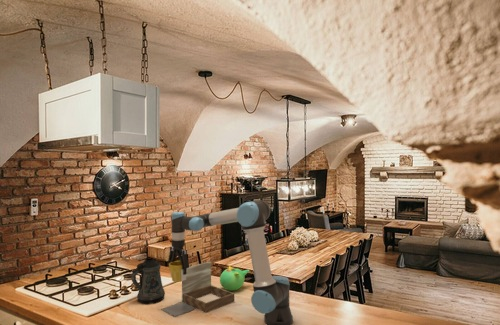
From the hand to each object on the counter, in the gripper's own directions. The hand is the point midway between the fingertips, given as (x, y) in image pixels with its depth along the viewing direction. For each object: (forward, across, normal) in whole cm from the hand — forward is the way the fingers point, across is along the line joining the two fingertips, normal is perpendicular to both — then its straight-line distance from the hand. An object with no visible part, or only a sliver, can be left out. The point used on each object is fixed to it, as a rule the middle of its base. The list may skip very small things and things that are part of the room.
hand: (178, 278), depth 197 cm
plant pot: (+1, 0, 0) cm, 1 cm away
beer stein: (+18, +25, +4) cm, 31 cm away
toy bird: (+18, +1, -44) cm, 48 cm away
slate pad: (+18, 0, 0) cm, 18 cm away
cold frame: (+18, -4, -19) cm, 26 cm away
